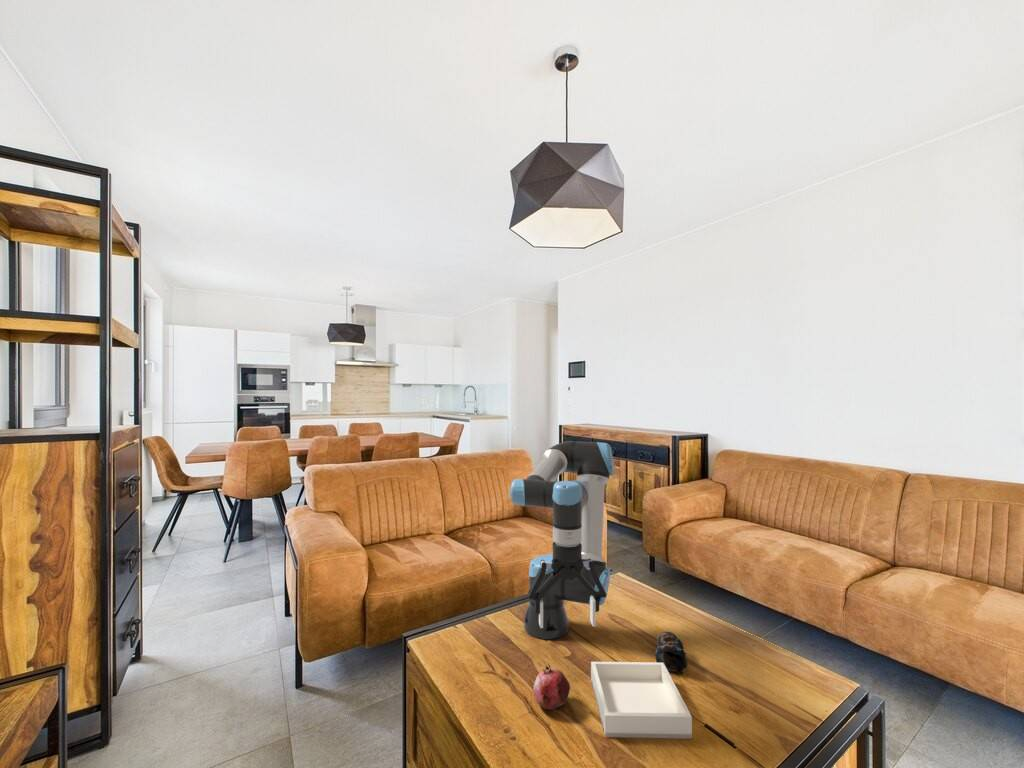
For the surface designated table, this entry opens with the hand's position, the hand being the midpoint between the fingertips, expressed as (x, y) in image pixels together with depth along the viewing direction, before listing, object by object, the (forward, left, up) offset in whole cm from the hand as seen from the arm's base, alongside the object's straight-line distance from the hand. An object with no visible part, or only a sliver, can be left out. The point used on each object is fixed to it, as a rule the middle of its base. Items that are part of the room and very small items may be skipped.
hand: (566, 624), depth 113 cm
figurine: (+17, +33, -20) cm, 42 cm away
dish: (+15, +9, -20) cm, 26 cm away
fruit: (-3, -3, -20) cm, 20 cm away
